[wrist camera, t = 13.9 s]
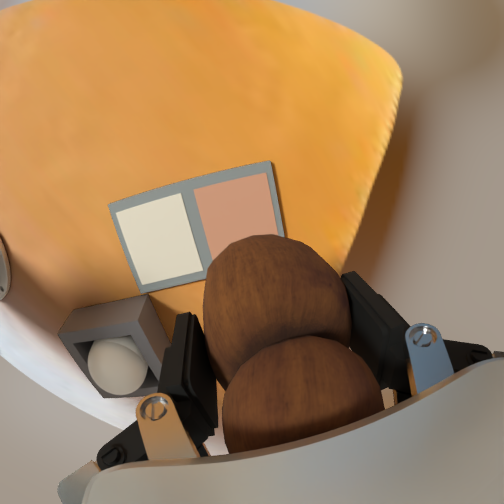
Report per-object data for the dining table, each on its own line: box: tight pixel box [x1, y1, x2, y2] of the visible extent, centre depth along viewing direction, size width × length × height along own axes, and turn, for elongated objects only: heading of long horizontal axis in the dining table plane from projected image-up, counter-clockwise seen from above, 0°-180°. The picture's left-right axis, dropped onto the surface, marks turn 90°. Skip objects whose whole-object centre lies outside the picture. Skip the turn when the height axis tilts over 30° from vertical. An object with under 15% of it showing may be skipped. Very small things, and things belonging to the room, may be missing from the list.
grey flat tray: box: [108, 161, 284, 294], centre depth 26 cm, size 16×10×1 cm, turn 102°
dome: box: [88, 335, 148, 395], centre depth 25 cm, size 7×7×7 cm
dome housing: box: [57, 294, 171, 398], centre depth 27 cm, size 11×11×5 cm
